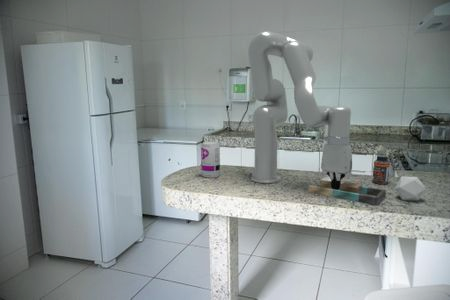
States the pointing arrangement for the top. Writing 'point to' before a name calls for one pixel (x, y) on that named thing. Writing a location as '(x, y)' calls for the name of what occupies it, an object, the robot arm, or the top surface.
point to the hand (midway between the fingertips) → (335, 189)
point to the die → (410, 188)
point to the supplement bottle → (381, 170)
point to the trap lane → (349, 193)
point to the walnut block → (351, 187)
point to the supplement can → (210, 159)
